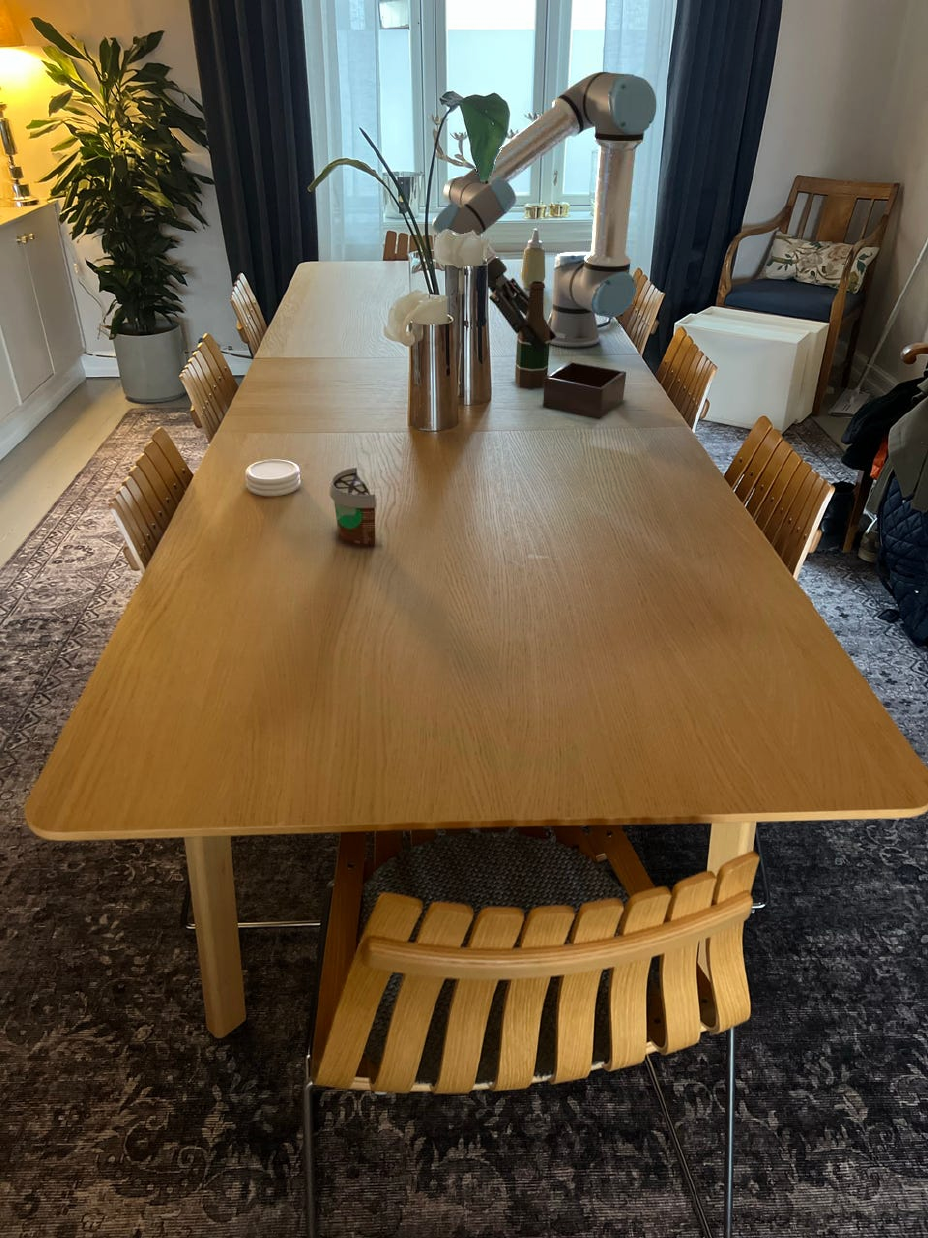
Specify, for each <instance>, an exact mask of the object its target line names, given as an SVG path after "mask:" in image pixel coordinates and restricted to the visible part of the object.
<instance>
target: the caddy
mask: <svg viewBox="0 0 928 1238" xmlns="http://www.w3.org/2000/svg"><path fill="white" fill-rule="evenodd" d="M626 378H627V372H626V371H623V370H618V369H611V368H607V367H602V366H598V365H597V366H596V365H591V364H587V363H586V364H585V363H580V362H575V361H569V362H568V363H566V364H564V365H562V366H561V367H559V368H557V369H555V371H553V372H552V373H549V374H548V376H547V377H545V382H544V386H543V399H542V408H543V409H547V410H548V409H549V410H553V411H558V412H561V413H566V414H571V415H577V416H582V417H585V418H591V419H594V420H601V419H602V418H604V417H605V416H606V415H608V414H609V413H610V412H611V411H612V410H614V409H615V408H616V407H617V406H619V405H620V404H622V402H624V398H625V397H624V396H625V389H626Z"/></svg>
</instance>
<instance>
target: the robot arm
mask: <svg viewBox="0 0 928 1238" xmlns="http://www.w3.org/2000/svg"><path fill="white" fill-rule="evenodd" d="M657 106H658V104H657V97H656V93H655V90H654V89H653V87H652V85H651V83H649V81H648V80H646V79H645V78H643V77H641V76H637V75H635V74H630V73H615V72H609V71H599V72H595V73H592V74H590V75H587V76H586V77H584V78H582V79H580V81H578V82H576V83H575V84H573V85H572V86H570V87H569V88H568V89H567V90H565V91H564V92H563V93H561V94H560V95H559V96H558V97H556V98H555V99H554V100H553V102H552V107H551V108H549V109H548V110H546V112H545V113H542V115H541V116H539V117H538V118H537V119H535V120H534V121H533V122H531V123H530V124H528V125H527V127H525V128H524V129H522V130H521V131H520V132H519V133H517V134H516V135H515V136H513V137H512V138H510V140H509V141H507V142H506V143H505V144H504V145H502V146H501V147H502V150H501V152H500V153H499V155H498V156H497V158H496V161H495V165H496V168H495V171H494V172H493V174H492V175H491V177H489V179H488V180H487V181H486V182H481V181H480V180H479V178H478V174H477V171H476V168H475V167H473V169H471V170H470V171H468V172H467V173H466V174H464V175H456V176H452V177H450V178H449V179H448V180H447V182H446V183H445V185H444V189H443V198H444V202H445V203H446V204H447V206H445V207H444V208H443V209H442V210H441V211H439V213H438V214H437V215H436V216H435V217H434V218H433V220H432V223H431V227H432V229H433V230H434V232H435V233H436V234H437V235H438V234H439V233H441V232H442V231H443V230H445V229H449V230H452V231H454V232H456V233H459V234H464V233H468V232H471V231H472V230H476V231H477V232H478V233H479V235H480V236H482V235H483V234H484V233H485V232H486V231H487V230H488V229H489V228H490V227H492V226H493V225H494V224H495V223H496V222H498V221H499V220H500V219H501V218H502V217H504V216H505V215H507V214H508V212H509V211H510V210H511V209H512V208H513V207H514V206H515V205H516V203H517V196H516V195H517V194H516V193H515V191H514V188H513V187H512V186H511V184H510V183H511V181H513V180H514V179H516V178H517V177H518V176H520V175H521V174H522V173H523V172H524V171H526V170H527V169H529V168H530V167H531V166H533V164H535V163H536V162H538V161H539V160H541V158H543V157H544V156H545V155H546V154H548V153H549V152H551V151H552V150H553V149H554V148H555V147H557V146H558V145H559V144H561V143H562V142H563V141H564V140H566V139H567V138H569V137H573V138H574V137H577V136H579V134H581V133H582V132H584V131H586V130H588V129H591V128H594V132H593V140H594V141H595V143H596V144H597V146H598V149H599V150H598V162H597V163H598V164H597V175H596V186H595V199H594V212H593V222H592V234H591V244H590V245H591V247H590V251H571V252H562V253H560V254H557V256H556V257H555V261H554V267H553V286H552V301H551V304H552V305H551V312H550V314H549V317H548V319H547V321H546V322H547V324H548V326H549V330H550V345H552V346H555V347H561V348H568V349H569V348H570V349H571V348H572V349H580V348H581V349H582V348H589V347H593V346H595V345H597V344H598V343H599V340H600V333H599V332H600V331H599V329H600V328H603V327H606V326H608V325H609V324H610V322H611V320H612V319H614V318H618V317H623V314H624V313H625V312H627V310H628V309H629V308H630V307H631V306H632V305H633V302H634V300H635V297H636V295H637V282H636V280H635V279H634V277H633V275H632V274H630V268H631V259H630V258H629V256H628V255H627V254H626V249H627V241H628V230H629V221H630V210H631V199H632V192H633V191H632V190H633V181H634V173H635V172H634V171H635V162H636V161H635V160H636V151H637V147H639V146H640V145H641V143H643V141H644V136H645V132H646V131H647V130H648V129H649V127H650V125H651V124H653V122H654V120H655V117H656V114H657ZM496 255H497V253H496V252H495V251H494V249H493V248H492V247H491V245H490V244H488V248H487V252H486V259H487V262H488V288H487V289H489V290H490V292H491V294H490V295H489V296H488V298H489V300H490V301H491V302H492V303H493V304H494V305H495V307H496V308H497V309H498V310H499V312H500V314H502V316H503V318H504V319H505V320H506V322H507V323H508V325H509V326H510V327H511V328H512V330H513V331H514V332H515V334H518V333H519V332H521V333H522V334H523V335H524V337H525V338H526V339H527V340H528V342H529V343H530V344H531V345H532V347H533V348H534V349H535V350H536V352H537V353H539V352H540V351H542V350H543V349H544V348H545V347H546V346H547V344H546V343H545V342H544V341H543V339H542V338H541V337H540V336H539V334H538V333H537V332H536V331H535V329H534V328H533V327H532V326H531V324H530V323H529V324H528V325H527V322H526V320H525V317H526V314H527V309H528V300H529V294H527V293H526V291H525V290H524V289H523V288H522V287H521V286H520V285H519V283H518V282H517V280H516V278H514V277H512V278H510V280H509V278H508V277H506V276H505V273H506V272H507V271H508V268H507V266H506V264H505V263H504V262H503V261H502V259H501V258H500V257H496ZM523 315H524V316H525V317H524V316H523ZM596 315H597V316H599V317H604V318H607V319H606V321H605V322H602V323H599V324H598V323H597V318H596Z"/></svg>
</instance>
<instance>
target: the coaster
mask: <svg viewBox="0 0 928 1238" xmlns="http://www.w3.org/2000/svg"><path fill="white" fill-rule="evenodd" d="M300 473H301V471H300V467H299V466H298V465H297V464H296V463H294V462H292V461H289V460H284V459H265V460H260V461H257V462H255V463H252V464H250V465H248V467H247V468H246V470H245V473H244V475H245V483H246V489H247V490H248V491H249V492H250V493H252V494H254V495H257V496H261V497H268V498H269V497H272V498H273V497H281V496H282V497H283V496H285V495H290V494H292V493H293V492H295V491H297V490H298V489H299V488H300V486H301V475H300Z"/></svg>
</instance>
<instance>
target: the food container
mask: <svg viewBox="0 0 928 1238" xmlns="http://www.w3.org/2000/svg"><path fill="white" fill-rule="evenodd" d="M328 495H329V497H330V499H332V501H333V503H334V504H333V505H334V511H335V518H336V519H335V520H336V526H337V531H338V532H337V533H338V534H337V535H338V538H339V539H340V541H341V542H342V543H344V544H346V545H348V546H352V547H357V548H358V547H359V548H372V547H373V548H374V547H376V508H377V500H376V499H377V498H376V494H371V492H370V490H369V489H368V487H367V485H366V484H365V482H364V481H363V480H362V479H361V477H360V476H359V474H358V468H357V467H353V468H348V469H345V470H342V471H339V472H338V473H337V474H335V475H334V476H333V477H332V480H331V482H330V484H329V493H328Z"/></svg>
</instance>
